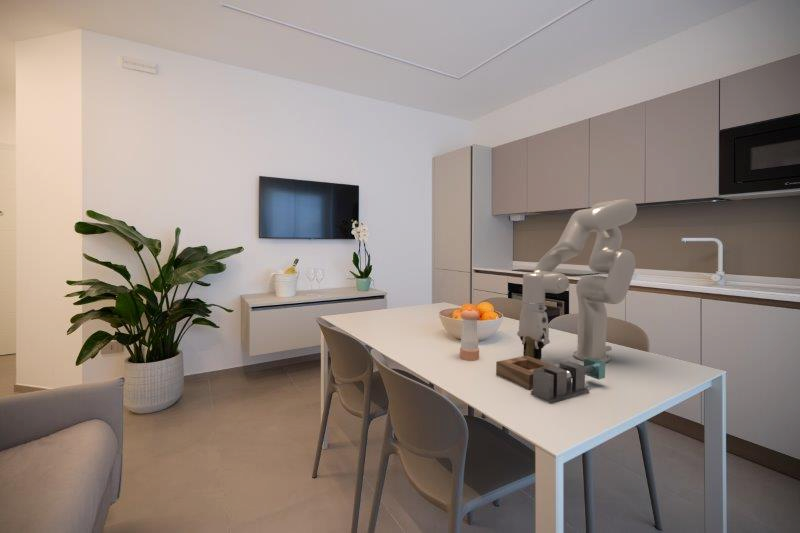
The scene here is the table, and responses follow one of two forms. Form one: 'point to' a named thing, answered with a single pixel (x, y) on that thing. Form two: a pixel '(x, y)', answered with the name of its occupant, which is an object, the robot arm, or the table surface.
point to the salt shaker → (469, 335)
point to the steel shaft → (592, 368)
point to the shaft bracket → (559, 382)
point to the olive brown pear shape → (530, 346)
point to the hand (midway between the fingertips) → (532, 356)
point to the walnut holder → (519, 370)
